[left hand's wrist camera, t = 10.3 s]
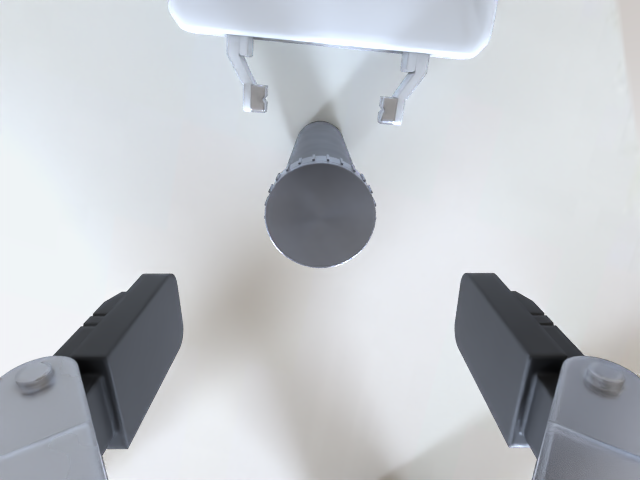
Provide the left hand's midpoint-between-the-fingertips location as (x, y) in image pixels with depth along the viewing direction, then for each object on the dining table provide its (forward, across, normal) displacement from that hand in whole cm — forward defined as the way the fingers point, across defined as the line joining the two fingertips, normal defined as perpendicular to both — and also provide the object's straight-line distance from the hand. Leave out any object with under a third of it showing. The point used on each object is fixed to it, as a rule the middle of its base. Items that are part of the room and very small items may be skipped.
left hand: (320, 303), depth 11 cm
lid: (+8, 0, 0) cm, 8 cm away
